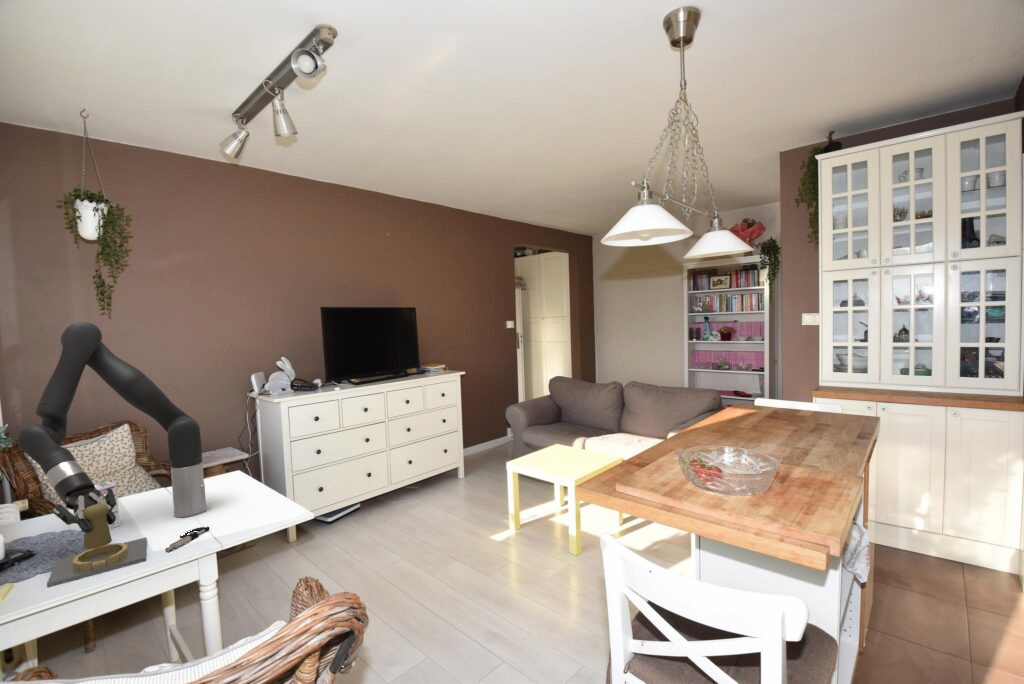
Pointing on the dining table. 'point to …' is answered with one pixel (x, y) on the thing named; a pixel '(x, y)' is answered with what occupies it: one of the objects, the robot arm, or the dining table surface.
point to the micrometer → (186, 538)
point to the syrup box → (115, 510)
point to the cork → (97, 527)
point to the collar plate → (98, 561)
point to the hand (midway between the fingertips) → (101, 526)
